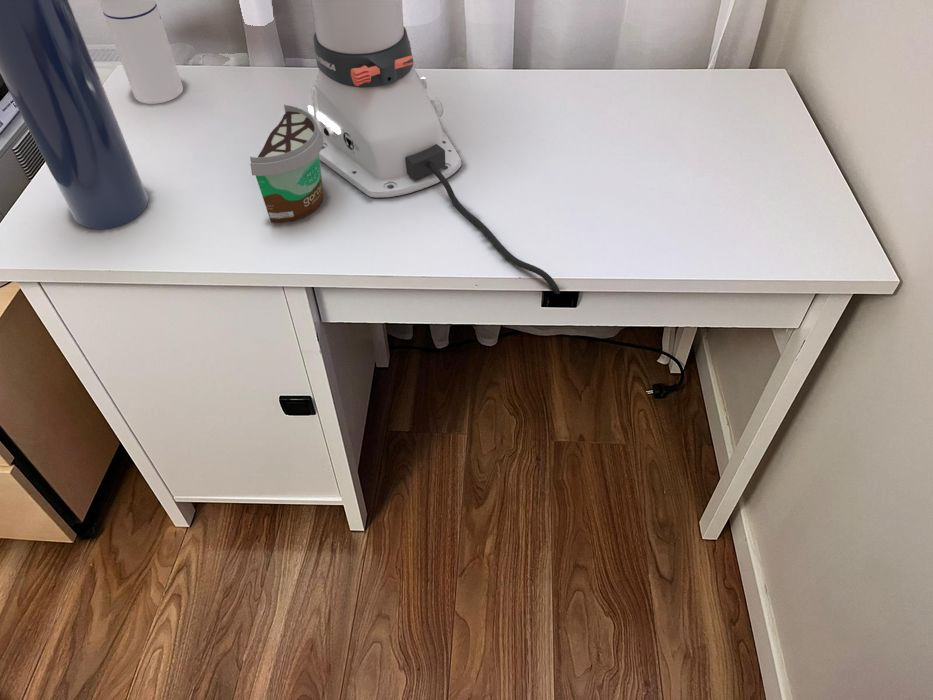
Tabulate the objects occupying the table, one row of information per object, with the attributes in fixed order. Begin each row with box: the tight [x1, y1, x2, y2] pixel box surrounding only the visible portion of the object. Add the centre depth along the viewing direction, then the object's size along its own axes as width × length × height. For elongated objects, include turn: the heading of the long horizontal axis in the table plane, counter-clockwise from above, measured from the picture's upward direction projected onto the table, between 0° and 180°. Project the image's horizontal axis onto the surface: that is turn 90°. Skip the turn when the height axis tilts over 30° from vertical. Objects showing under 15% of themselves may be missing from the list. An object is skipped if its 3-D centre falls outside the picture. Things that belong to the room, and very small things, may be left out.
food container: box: [249, 104, 324, 224], centre depth 89 cm, size 12×6×10 cm, turn 170°
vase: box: [0, 0, 149, 230], centre depth 79 cm, size 9×9×36 cm
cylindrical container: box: [98, 0, 184, 105], centre depth 101 cm, size 7×7×25 cm
